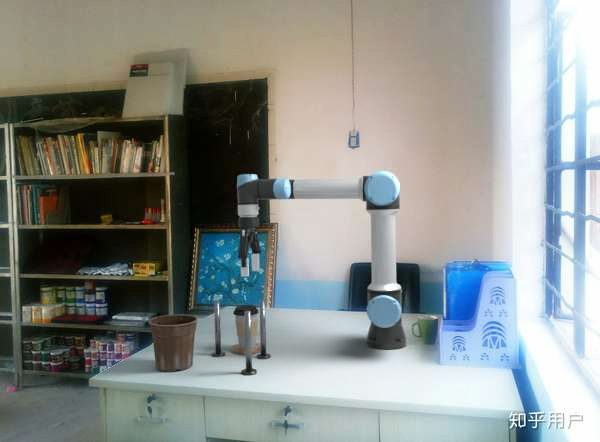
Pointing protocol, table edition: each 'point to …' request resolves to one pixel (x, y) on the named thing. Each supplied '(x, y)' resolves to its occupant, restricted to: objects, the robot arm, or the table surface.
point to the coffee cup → (241, 324)
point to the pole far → (217, 331)
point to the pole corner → (263, 332)
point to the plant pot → (173, 341)
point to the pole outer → (248, 346)
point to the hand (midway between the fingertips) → (250, 273)
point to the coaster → (237, 350)
